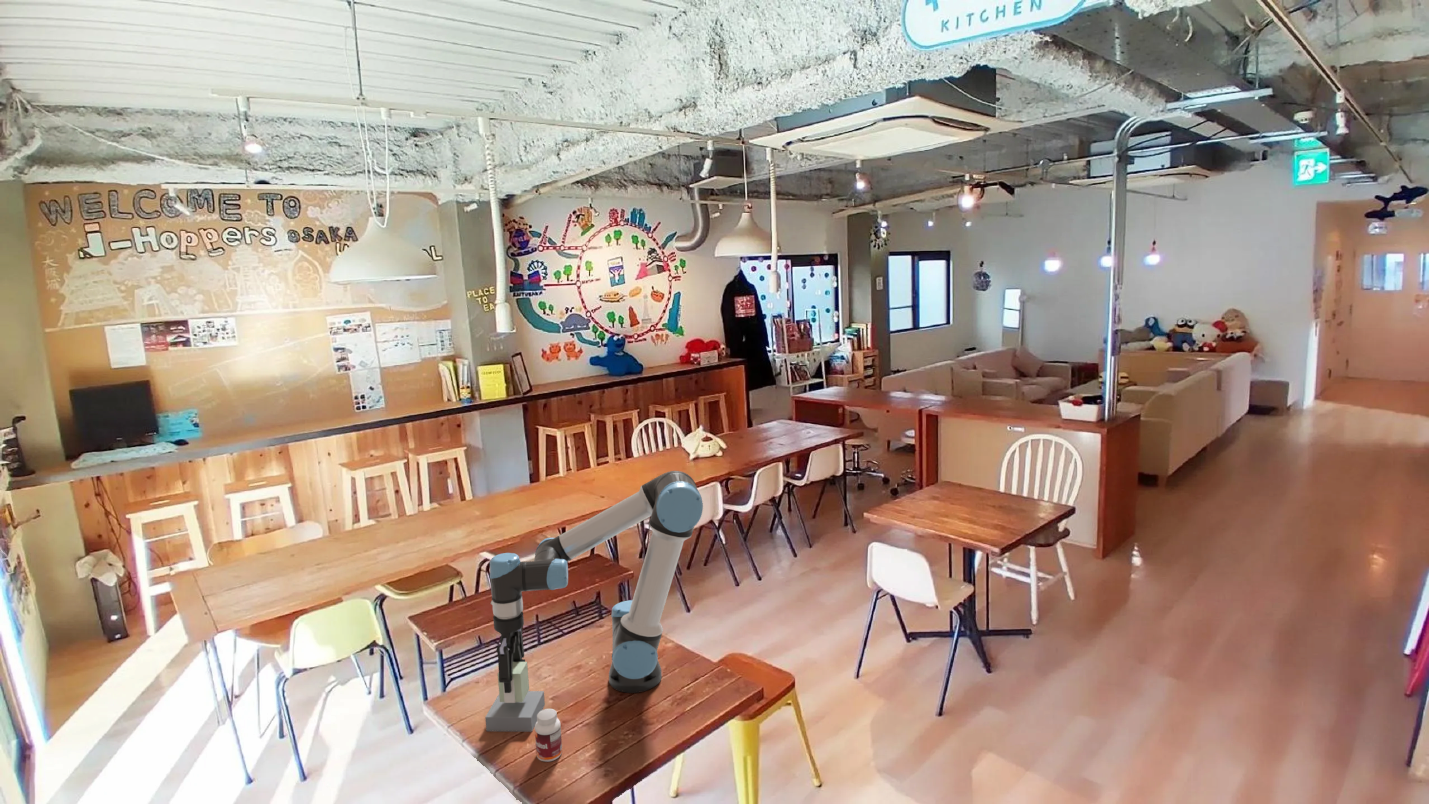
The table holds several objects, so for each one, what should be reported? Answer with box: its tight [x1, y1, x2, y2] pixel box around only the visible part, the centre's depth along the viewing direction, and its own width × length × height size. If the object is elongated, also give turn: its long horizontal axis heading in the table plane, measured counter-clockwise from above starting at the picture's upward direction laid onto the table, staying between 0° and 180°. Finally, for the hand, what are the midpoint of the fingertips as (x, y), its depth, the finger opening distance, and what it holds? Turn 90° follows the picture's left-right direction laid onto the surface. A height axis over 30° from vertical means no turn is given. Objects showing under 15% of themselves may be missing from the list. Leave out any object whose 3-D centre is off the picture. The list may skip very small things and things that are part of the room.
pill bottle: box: [534, 708, 563, 763], centre depth 180 cm, size 6×6×11 cm
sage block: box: [497, 661, 530, 702], centre depth 194 cm, size 6×6×8 cm
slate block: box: [484, 690, 546, 733], centre depth 196 cm, size 12×12×4 cm
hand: (514, 694), depth 195 cm, fingers closed on sage block, 6 cm apart
